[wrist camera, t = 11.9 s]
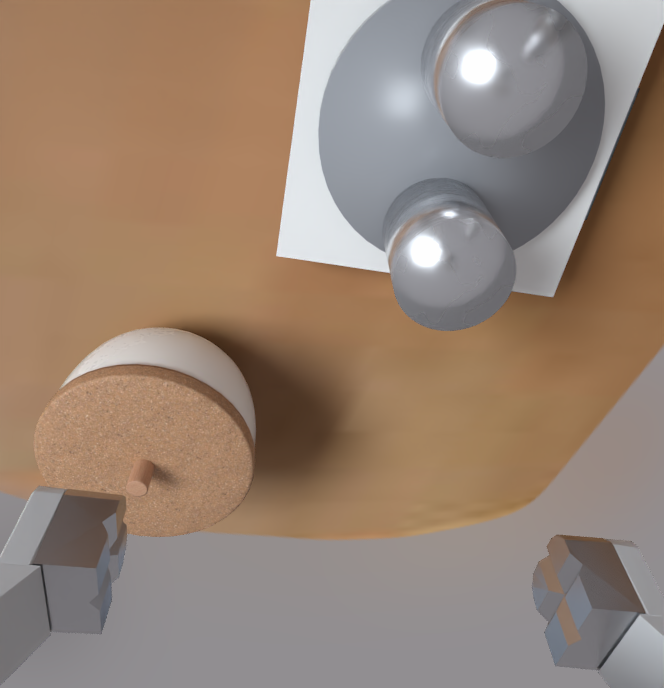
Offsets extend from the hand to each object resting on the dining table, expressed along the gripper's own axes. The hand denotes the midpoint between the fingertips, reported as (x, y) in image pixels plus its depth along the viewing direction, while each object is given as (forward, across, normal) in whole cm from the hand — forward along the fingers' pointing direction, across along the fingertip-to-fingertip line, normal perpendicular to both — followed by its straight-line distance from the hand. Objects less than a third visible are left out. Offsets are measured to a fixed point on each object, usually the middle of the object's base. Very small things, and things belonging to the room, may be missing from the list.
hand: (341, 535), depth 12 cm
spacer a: (+19, -5, +1) cm, 20 cm away
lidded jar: (+23, +7, +14) cm, 28 cm away
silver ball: (+19, -5, -6) cm, 21 cm away
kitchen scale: (+23, -5, -3) cm, 23 cm away
